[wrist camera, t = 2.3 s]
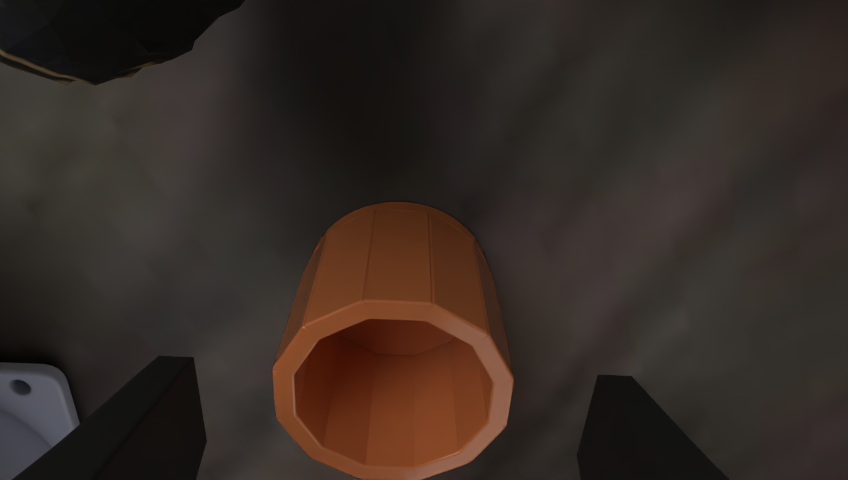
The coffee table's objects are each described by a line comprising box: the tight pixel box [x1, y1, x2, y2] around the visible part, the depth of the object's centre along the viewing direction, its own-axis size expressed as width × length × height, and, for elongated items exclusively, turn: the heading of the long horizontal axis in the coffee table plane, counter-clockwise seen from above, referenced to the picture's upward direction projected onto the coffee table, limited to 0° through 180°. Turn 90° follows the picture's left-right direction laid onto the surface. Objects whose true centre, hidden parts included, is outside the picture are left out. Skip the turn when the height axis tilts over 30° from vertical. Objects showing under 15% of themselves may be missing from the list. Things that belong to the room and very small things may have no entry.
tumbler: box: [272, 202, 515, 480], centre depth 13 cm, size 4×4×4 cm
